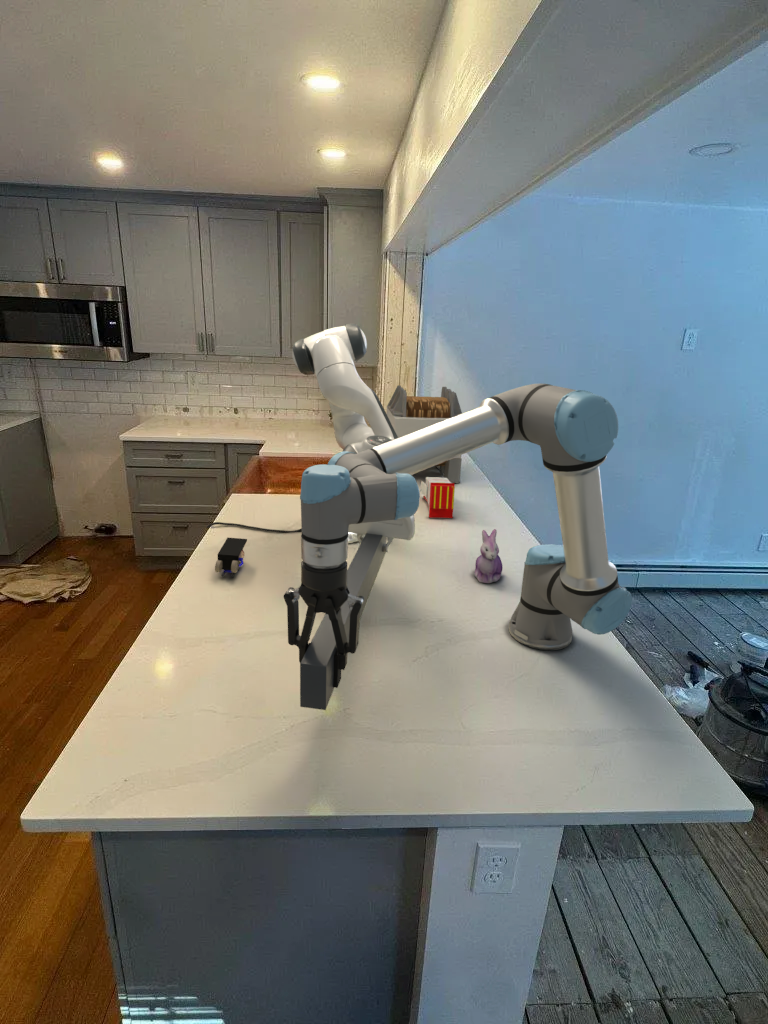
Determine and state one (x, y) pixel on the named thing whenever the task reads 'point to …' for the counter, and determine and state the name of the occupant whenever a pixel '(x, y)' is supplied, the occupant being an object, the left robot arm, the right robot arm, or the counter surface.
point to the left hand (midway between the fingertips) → (374, 550)
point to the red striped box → (439, 496)
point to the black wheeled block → (230, 556)
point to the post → (323, 645)
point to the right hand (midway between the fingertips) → (322, 680)
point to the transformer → (425, 420)
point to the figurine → (488, 559)
